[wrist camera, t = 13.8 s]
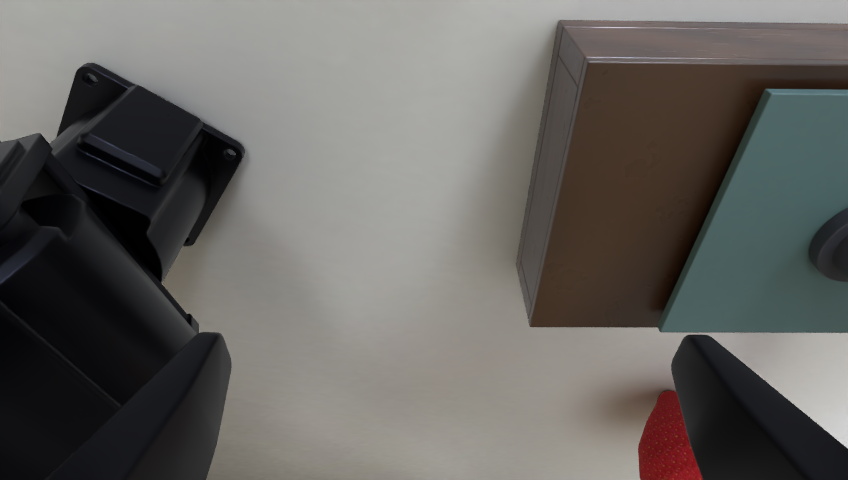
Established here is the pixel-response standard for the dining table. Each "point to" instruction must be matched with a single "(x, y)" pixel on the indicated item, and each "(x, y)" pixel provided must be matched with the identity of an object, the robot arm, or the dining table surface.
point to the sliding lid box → (646, 153)
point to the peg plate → (775, 226)
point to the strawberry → (666, 444)
